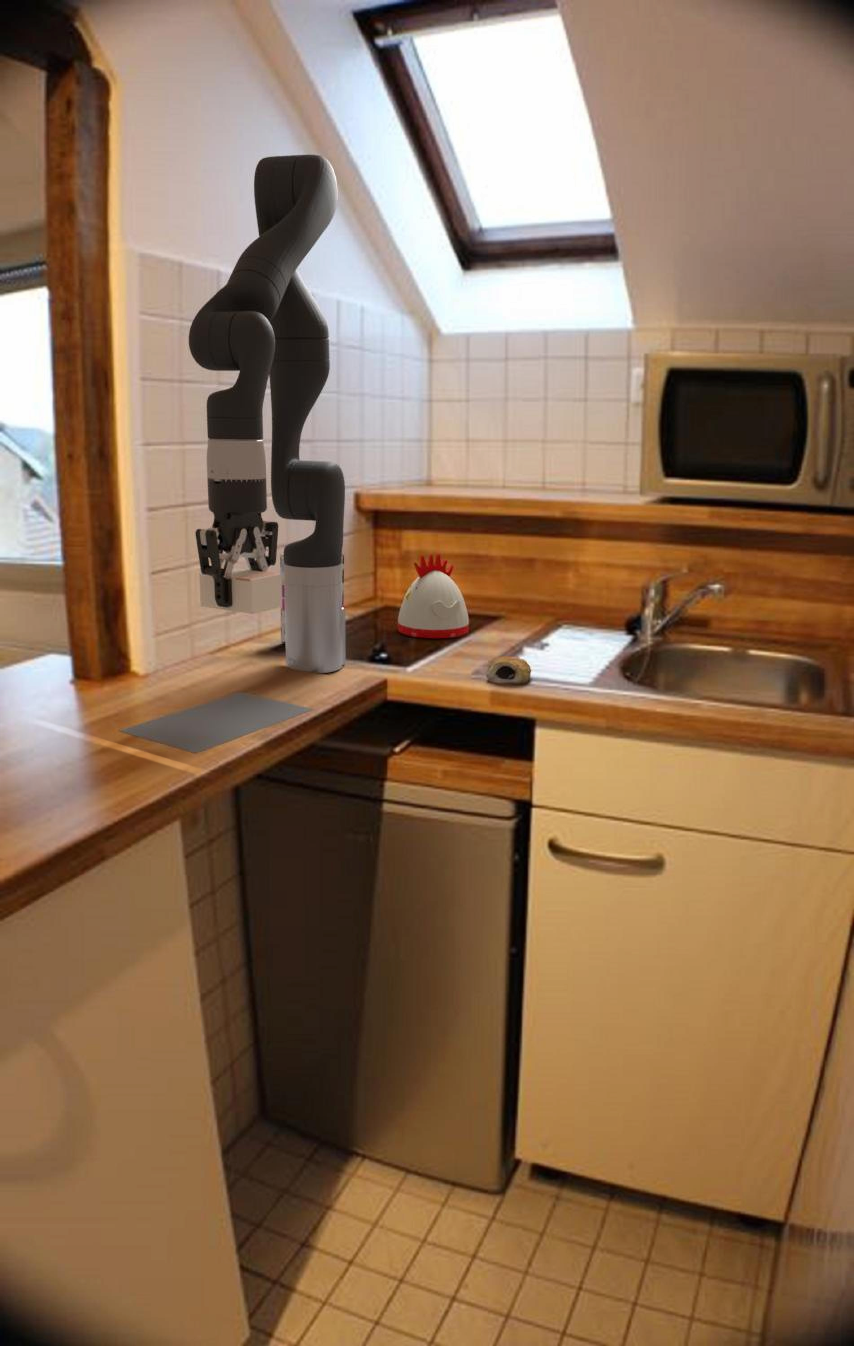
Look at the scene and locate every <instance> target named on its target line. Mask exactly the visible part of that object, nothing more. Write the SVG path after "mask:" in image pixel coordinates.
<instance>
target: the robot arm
mask: <svg viewBox="0 0 854 1346" xmlns="http://www.w3.org/2000/svg"><path fill="white" fill-rule="evenodd" d="M253 176H254V178H253V179H254V180H253V195H254V198H253V199H254V205H255V207H254V208H255V215H256V224H257V230H258V231H257V232H258V237H257V238H256V239H255V240H253V241H252V242H251V243H250V244H249V245H248V246H247V247H246V248H245V249H244V251H243V252H242V253H241V255H240V256H239V258H238V260H237V261H236V263H235V265H234V267H233V270H232V272H231V275H230V276H229V278H228V280H227V283H226V284H225V285H224V286H223V287H222V288H220V289H219V290H218V291H217V292H216V293H215V294H214V295H213V296H212V297H211V298H210V299H209V300H208V301H207V302H206V303H204V305H203V306H202V307H201V308H200V309H199V310H198V312H197V313H196V315H195V316H194V318H193V319H192V322H191V324H190V328H189V332H188V346H189V347H188V348H189V351H190V354H191V356H192V358H193V360H194V361H195V362H196V364H197V365H198V366H199V367H201V368H202V369H206V370H207V371H208V370H209V371H216V372H219V371H221V372H222V371H223V372H224V371H225V372H231V371H232V372H236V371H237V372H239V373H238V375H237V379H236V381H235V383H234V385H233V386H231V387H229V388H226V389H222V390H218V391H215V392H212V393H210V394H209V395H208V396H207V400H206V425H207V427H206V428H207V432H206V433H207V449H206V473H207V474H206V475H207V481H206V482H207V498H208V499H207V501H208V509H209V511H210V512H211V513H212V514H213V523H212V526H211V527H208V528H197V529H196V530H195V540H196V541H195V542H196V547H197V554H198V561H199V566H200V573H202V574H205V575H209V576H212V577H213V578H214V588H215V601H216V603H217V605H218V606H220V607H231V606H232V579H229V578H230V577H231V573H232V570H233V568H234V566H235V564H237V563H238V561H239V559H240V556H242V557H243V558H244V559H245V562H246V565H247V567H248V570H254V571H262V572H265V571H266V572H268V569H269V567H270V566H275V565H276V562H277V555H278V553H277V551H278V540H279V539H278V536H279V523H278V521H269V520H264V519H263V518H262V513H265V512H266V511H267V510H268V503H267V502H268V501H267V499H268V497H267V494H268V493H267V465H266V464H267V459H266V451H265V445H264V422H263V421H264V419H263V408H264V402H265V396H266V391H267V386H268V382H269V388H270V389H269V390H270V402H271V403H270V404H271V405H270V406H271V407H270V408H271V451H270V452H271V453H270V454H271V457H270V460H271V462H270V492H271V499H272V500H271V501H272V504H273V508H274V511H275V512H276V514H277V515H278V517H280V518H281V519H285V520H295V521H314V522H315V525H314V531H313V532H312V533H311V534H310V535H308V536H306V537H305V538H303V539H300V540H297V541H294V542H291V543H289V544H288V543H287V544H286V545H285V546H284V549H283V554H284V589H285V641H286V644H285V667H287V668H288V669H290V670H294V671H300V672H309V673H314V674H326V673H331V672H336V671H339V670H340V669H341V668H343V665H346V663H347V662H346V658H347V657H346V609H345V608H344V606H343V607H342V564H341V563H342V553H343V547H344V522H345V518H344V517H345V504H346V503H345V501H346V485H345V477H344V473H343V470H342V468H341V467H340V465H339V464H338V463H337V462H334V461H327V460H326V461H325V460H324V461H323V460H321V461H320V460H300V446H301V445H300V444H301V437H302V432H303V430H304V429H303V428H304V427H305V423H306V421H307V418H308V416H309V414H310V412H311V411H312V410H313V408H314V405H315V404H316V402H317V401H318V399H319V397H320V394H321V393H322V391H323V389H324V387H325V385H326V383H327V382H328V381H327V380H328V378H329V375H330V368H331V366H330V365H331V364H330V361H331V360H330V340H329V338H330V335H329V333H330V332H329V327H328V323H327V320H326V317H325V315H324V313H323V312H322V311H323V310H322V309H321V308H320V306H319V304H318V303H317V301H316V299H315V297H314V296H313V294H312V292H311V291H310V290H309V288H308V287H307V285H306V284H305V282H304V280H303V278H302V277H301V275H300V273H299V270H298V268H299V266H300V265H301V263H302V262H303V261H304V259H305V258H306V256H307V255H308V254H309V252H310V251H311V250H312V248H313V247H314V246H315V245H316V243H317V242H318V240H319V239H320V238H321V236H322V235H323V233H324V232H325V231H326V230H327V228H328V226H330V224H331V222H332V220H333V218H334V216H335V213H336V210H337V205H338V198H339V192H338V191H339V189H338V182H337V176H336V174H335V170H334V168H333V166H332V164H331V163H330V161H329V160H328V159H327V158H325V156H321V155H319V154H294V155H292V154H291V155H275V156H273V155H272V156H266V157H263V158H261V159H259V161H258V162H257V164H256V168H255V171H254V175H253ZM266 548H267V549H268V553H266V551H267V549H266ZM266 554H268V555H266ZM223 563H224V565H223ZM210 564H211V565H210ZM222 567H223V568H222Z"/></svg>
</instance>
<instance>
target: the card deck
mask: <svg viewBox="0 0 854 1346" xmlns="http://www.w3.org/2000/svg"><path fill="white" fill-rule="evenodd" d="M198 574H199V577H198V578H199V592H200V593H199V596H200V607H204V608H209V609H210V608H211V609H216V610H217V609H218V610H224V611H229V612H237V613H244V614H249V615H255V614H258V613H262V612H267V611H270V610H275V609H279V608H281V607H282V591H281V573H279V572H273V571H265V572H262V571H254V570H250V569H247V568H246V569H245V568H236V567H233V570H232V573H231V577H230V578H229V579H232V606H231V607H220V606H218V605H217V603H216V601H215V588H214V578H213V577H212V576H209V575H205V574H202V573H201V572H199V573H198Z"/></svg>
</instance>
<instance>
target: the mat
mask: <svg viewBox="0 0 854 1346" xmlns="http://www.w3.org/2000/svg"><path fill="white" fill-rule="evenodd" d="M313 710H315V709H314V708H312V707H306V706H303V705H299V704H294V703H290V702H285V701H281V700H276V699H272V698H269V697H268V698H267V697H264V696H261V695H260V696H259V695H256V694H251V693H248V692H247V693H246V692H242V691H240V692H236V693H234V694H230V695H228V696H224V697H221V698H218V699H215V700H211V701H209V702H205V703H201V704H199V705H195V706H193V707H189V708H186V709H183V710H180V711H176V712H173V713H170V714H168V715H164V716H161V717H158V718H154V719H152V720H149V721H146V722H141V723H139V724H135V725H133V726H129V727H126V728H123V729H120V730H118V732H120V733H124V734H127V735H130V736H134V737H137V738H141V739H145V740H148V741H150V742H155V743H158V744H161V745H166V746H169V747H173V748H175V749H178V750H182V751H186V752H190V753H193V754H198V753H201V752H203V751H206V750H209V749H212V748H213V747H217V746H219V745H222V744H225V743H227V742H230V741H233V740H235V739H238V738H241V737H244V736H247V735H250V734H252V733H255V732H257V731H260V730H262V729H265V728H268V727H270V726H273V725H276V724H280V723H281V722H284V721H286V720H287V721H288V720H289V719H292V718H295V717H297V716H300V715H303V714H305V713H308V712H311V711H313Z"/></svg>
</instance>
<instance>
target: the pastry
mask: <svg viewBox="0 0 854 1346" xmlns="http://www.w3.org/2000/svg"><path fill="white" fill-rule="evenodd" d="M531 674H532V669H531V666H530V665H529V663H528V662H527V661H526V660H525V659H524V658H520V657H517V656H507V655H505V656H504V655H503V656H500V657H499V656H498V657H496V658H494V660H492V661H491V662H490V663H489V665H488V668H487V673H486V674H485V677H486V678H487V681H489V682H491V683H494V682H496V683H495V684H510V683H511V685H519V684H521V683H522V684H525V683H527V682H528V681H529V680H530V677H531ZM524 682H525V683H524Z"/></svg>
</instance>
